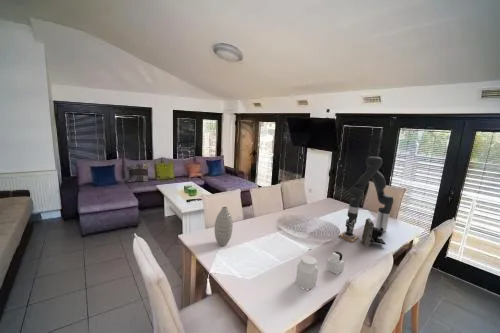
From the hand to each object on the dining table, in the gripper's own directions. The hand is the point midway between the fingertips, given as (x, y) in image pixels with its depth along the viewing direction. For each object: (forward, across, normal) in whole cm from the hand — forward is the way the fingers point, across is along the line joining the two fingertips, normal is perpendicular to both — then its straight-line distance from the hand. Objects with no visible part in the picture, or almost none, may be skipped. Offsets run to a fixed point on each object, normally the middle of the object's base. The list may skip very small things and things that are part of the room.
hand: (350, 229), depth 193 cm
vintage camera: (+8, -7, +17) cm, 20 cm away
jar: (+7, +78, +12) cm, 79 cm away
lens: (+6, 0, 0) cm, 6 cm away
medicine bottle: (+7, +52, +16) cm, 55 cm away
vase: (+7, +93, -50) cm, 106 cm away
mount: (+7, 0, 0) cm, 7 cm away
